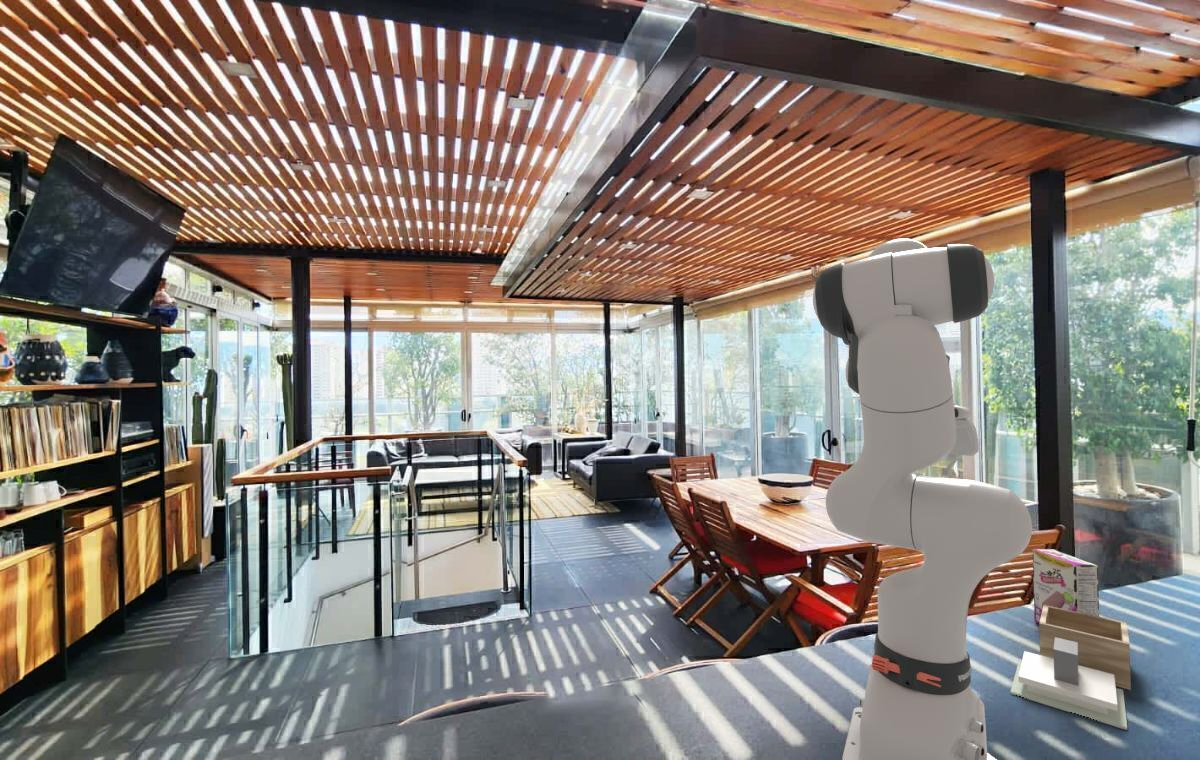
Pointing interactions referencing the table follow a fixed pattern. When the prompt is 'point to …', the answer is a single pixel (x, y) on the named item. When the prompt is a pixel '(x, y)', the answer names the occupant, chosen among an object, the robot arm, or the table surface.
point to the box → (1089, 641)
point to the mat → (1112, 718)
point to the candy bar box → (1064, 583)
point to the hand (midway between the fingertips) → (920, 473)
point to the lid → (1068, 678)
